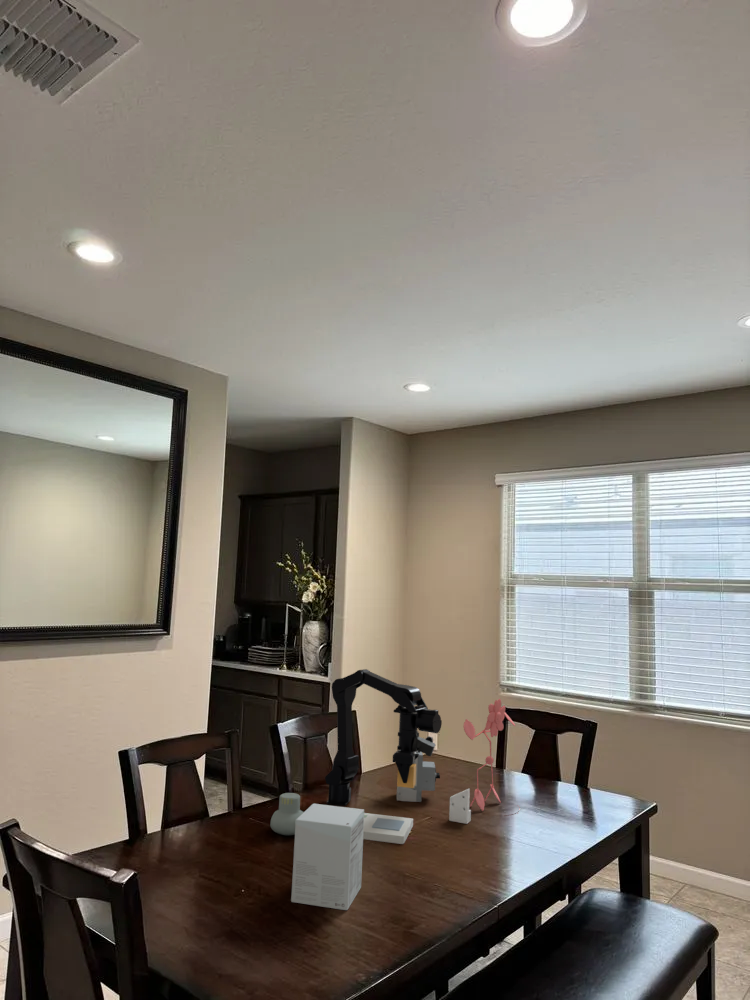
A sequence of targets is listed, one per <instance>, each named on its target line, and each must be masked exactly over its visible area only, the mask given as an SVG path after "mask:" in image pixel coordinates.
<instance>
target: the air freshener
mask: <svg viewBox="0 0 750 1000" xmlns="http://www.w3.org/2000/svg"><path fill="white" fill-rule="evenodd" d="M278 799H279V800H278V809H277V810H275V811H274V812H273V814H272V816H271V819H270V828H271V830H272V831H273V832H275V833H277V834H278V835H282V836H295V821H296V819H297V818H298V817H299V816H301V815H302V814H303V813H304V812H305V811H303V810H301V809H300V808H301V795H299V794H298V793H296V792H295V793H294V792H285V793H282V794H280V795H279V798H278Z"/></svg>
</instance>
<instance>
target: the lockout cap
mask: <svg viewBox="0 0 750 1000" xmlns="http://www.w3.org/2000/svg"><path fill="white" fill-rule="evenodd" d="M396 777H397V778H396V779H397V780H396V788H397V787H407V788H414V786H415V784H416V764H412V765H411V766H410V770H409V775H408V780H407V783H403V781H402V778H401V775H400V773H399V770H398V769H397V776H396Z"/></svg>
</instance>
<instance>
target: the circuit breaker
mask: <svg viewBox="0 0 750 1000" xmlns="http://www.w3.org/2000/svg"><path fill="white" fill-rule="evenodd" d="M415 754H419V756H418V757H417V758H416V759H415V760H414V761H415V762H414V764H416V784H415V786H414V788H407V787H397V786H396V801H397V802H399V801H401V802H415V803H417V802H419V803H422V793H423V792H422V791H426V792H427V791H433V792H434V791H436V781H437V779H441V774H440V772H437V769H436V765H435V761H425V760H423V759H424V757H423V756H424V755H423V754H424V753H422V752H420V753H418V751H416V752H415Z"/></svg>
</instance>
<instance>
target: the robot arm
mask: <svg viewBox="0 0 750 1000" xmlns="http://www.w3.org/2000/svg"><path fill="white" fill-rule="evenodd" d="M364 685H366V686H368V687H370V688H372V689H374V690H375V691H376V690H377V691H378V692H381V693H383V694H385V695H387V696H389V697H391V700H393V702H395V703H396V704H398V706H397V707H396V708H395V709H393V713H396V714H399V721H398V722H399V724H398V731H397V737H398V745H397V747H396V748H397V749H396V751H395V752H394V753H393V754H392V762H393V763H395V765H396V767H397V771H398V770H399V773H400V775H401V778H402V781H403V783H407V780H408V775H409V770H410V766H411V765H412V764H414V762H415V761H414V760H415V759H416V758H417V757H418V756H419V754H415V752H416V751H418V753H420V752H422V754H425V756H428V757H432V755H433V752H434V750H435V747H436V743H435V742H434V739H433V737H432V736H430V735H428V736H427V737H425V738H424V737H421V736H420V732H424V733H425V732H427V733H433V734H439V732H440V731H441V728H442V724H443V723H442V718H441V715H440V714H439V710H438V709H428V706H427V704H426V703H425V700H424V699H423V697H422V693H421V689H419V688H418V687H416V686H412V685H409V684H402V683H397V682H395V681H392V680H390V679H388V678H385V677H383V676H381V675H378V674H377V673H374V672H372V671H371V670H369V669H367V668H364V669H359V670H356V671H355V672H353V673H351V674H349V675H347V676H344V677H342V678H341V677H340V678H335V680H334V681H333V682H332V683H331V691H332V692H331V693H332V698H333V700H334V702H335V705H336V708H337V709H336V716H337V718H336V722H337V723H336V726H337V727H336V728H337V729H336V730H337V731H336V734H337V737H336V739H337V741H336V742H337V745H336V747H337V748H336V749H337V750H336V751H337V752H336V754H335V756H334V758H333V761H332V768H331V769H332V770H331V771H329V773H327V775H326V776H325V777H324V778H325V783H326V785H328V797H327V798H328V799H327V801H326V805H335V806H347V805H348V804H349V802H351V799H352V797H351V795H352V786H351V787H350V785H351V782H353V781H354V777H355V776H356V775H357V774H358V770H359V769H360V765H359V763H360V762H359V760H360V757H359V755H357V754H355V752H354V751H353V707H352V706H353V703H354V701H355V698H356V696H357V689H358V688H360V687H362V686H364ZM419 731H420V732H419Z"/></svg>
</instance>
